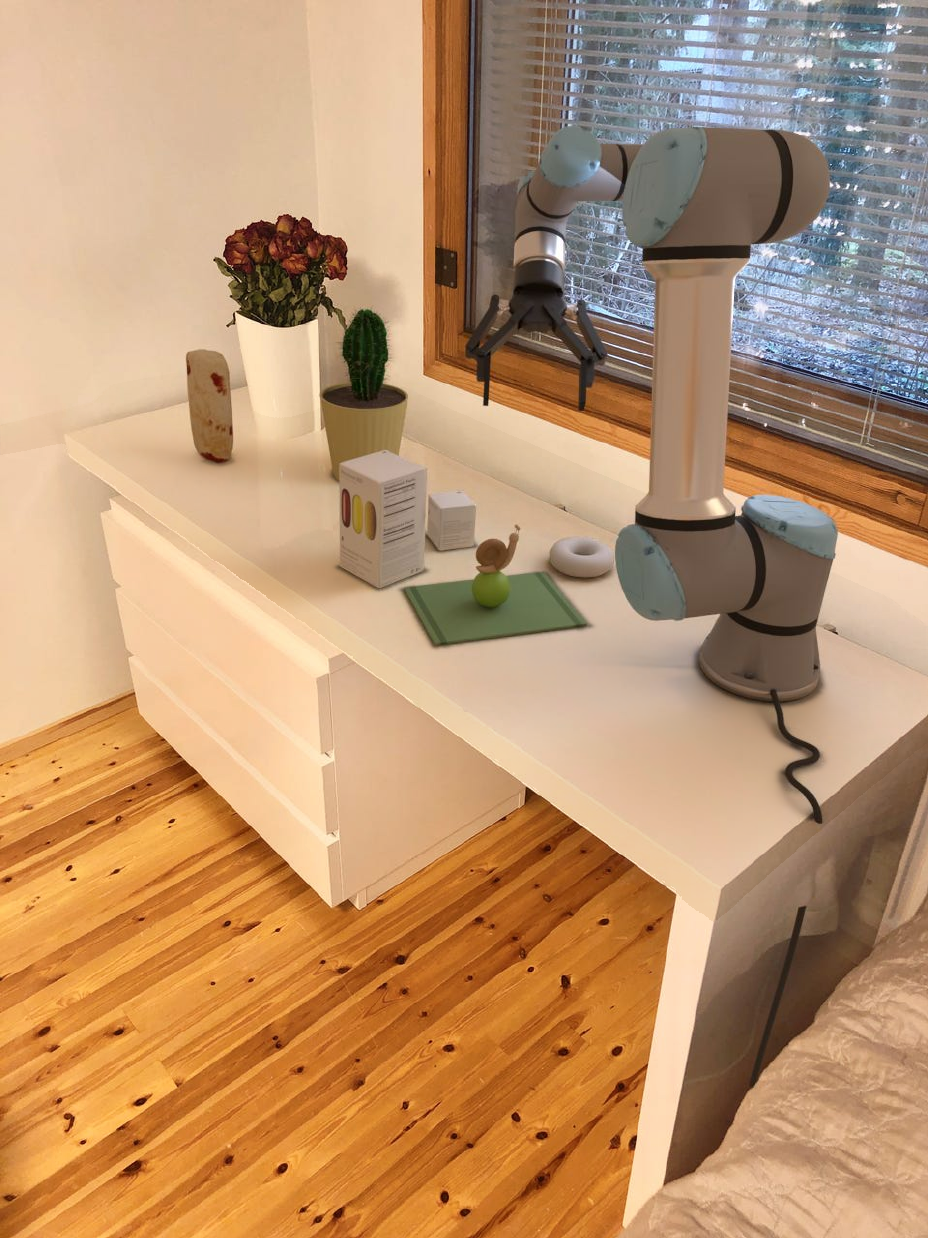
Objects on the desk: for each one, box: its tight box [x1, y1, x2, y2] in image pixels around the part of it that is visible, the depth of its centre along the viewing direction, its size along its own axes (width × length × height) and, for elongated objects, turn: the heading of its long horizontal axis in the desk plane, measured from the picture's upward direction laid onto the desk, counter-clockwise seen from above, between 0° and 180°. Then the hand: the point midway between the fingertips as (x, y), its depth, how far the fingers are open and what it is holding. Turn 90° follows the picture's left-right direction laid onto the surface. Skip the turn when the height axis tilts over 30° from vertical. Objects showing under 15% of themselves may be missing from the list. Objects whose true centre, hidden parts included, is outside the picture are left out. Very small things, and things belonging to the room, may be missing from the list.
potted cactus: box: [318, 305, 409, 482], centre depth 181 cm, size 15×15×30 cm
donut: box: [548, 536, 615, 579], centre depth 160 cm, size 10×4×10 cm
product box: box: [426, 490, 477, 552], centre depth 165 cm, size 6×6×7 cm
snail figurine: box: [472, 523, 521, 608], centre depth 145 cm, size 5×6×12 cm
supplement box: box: [339, 450, 428, 589], centre depth 153 cm, size 10×9×17 cm
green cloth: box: [403, 571, 587, 646], centre depth 148 cm, size 16×22×1 cm
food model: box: [185, 348, 234, 464], centre depth 187 cm, size 10×7×20 cm
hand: (533, 404), depth 147 cm, fingers open, 13 cm apart
